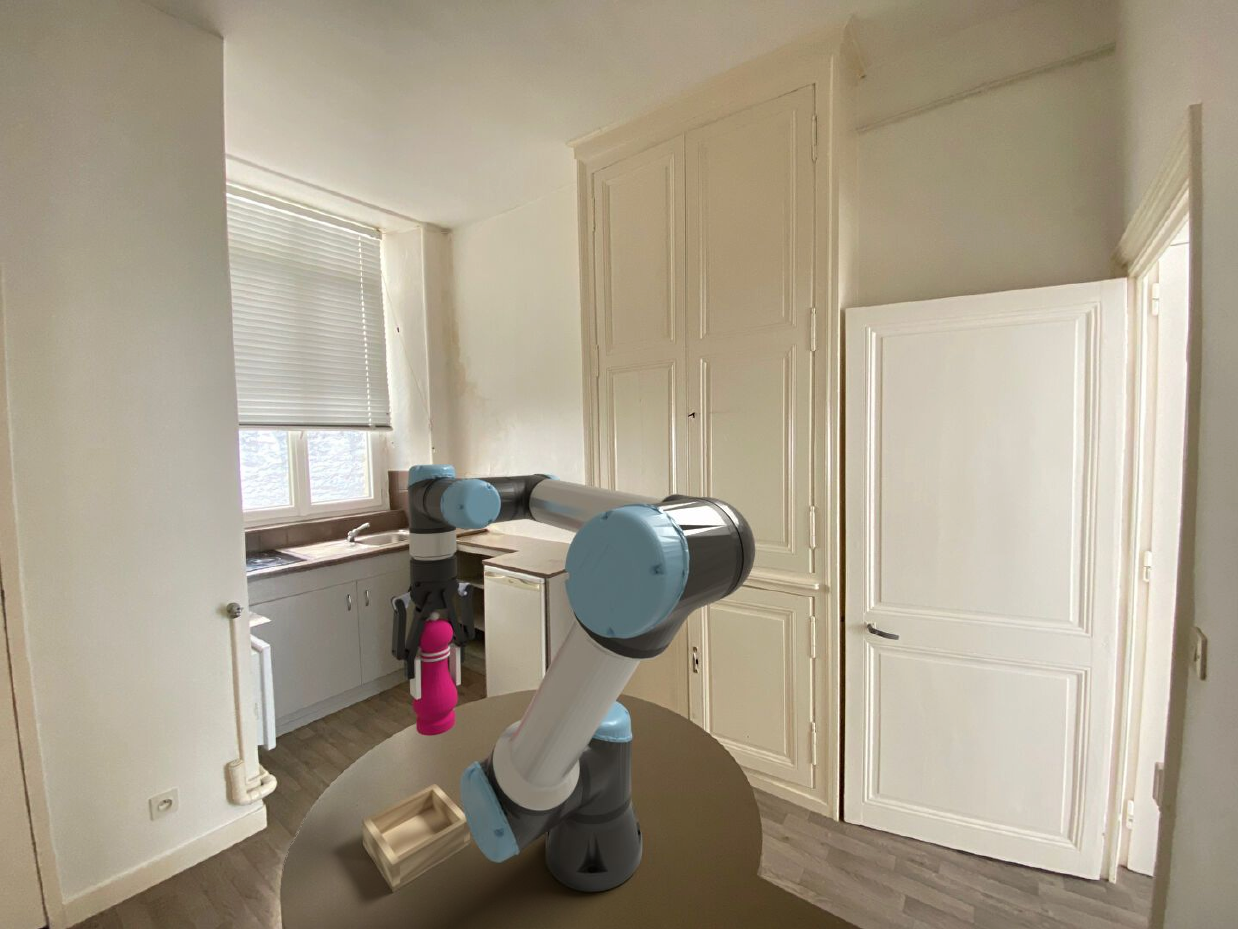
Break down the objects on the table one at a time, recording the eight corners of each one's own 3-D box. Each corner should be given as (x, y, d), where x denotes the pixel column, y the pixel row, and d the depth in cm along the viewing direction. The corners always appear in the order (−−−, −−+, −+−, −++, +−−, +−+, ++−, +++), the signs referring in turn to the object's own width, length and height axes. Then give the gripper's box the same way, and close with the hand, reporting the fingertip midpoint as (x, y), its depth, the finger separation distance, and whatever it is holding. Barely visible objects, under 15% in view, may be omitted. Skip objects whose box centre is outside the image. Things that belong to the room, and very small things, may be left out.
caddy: (470, 843, 79) (469, 819, 79) (393, 892, 71) (392, 865, 71) (435, 805, 88) (435, 783, 87) (362, 845, 79) (362, 820, 79)
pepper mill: (442, 740, 81) (440, 619, 80) (403, 734, 83) (401, 616, 82) (466, 717, 88) (464, 605, 88) (430, 712, 90) (428, 602, 89)
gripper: (475, 544, 94) (477, 665, 95) (365, 560, 81) (368, 700, 82) (495, 550, 88) (497, 678, 89) (381, 568, 75) (384, 718, 76)
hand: (436, 688), depth 85 cm, fingers closed on pepper mill, 6 cm apart
